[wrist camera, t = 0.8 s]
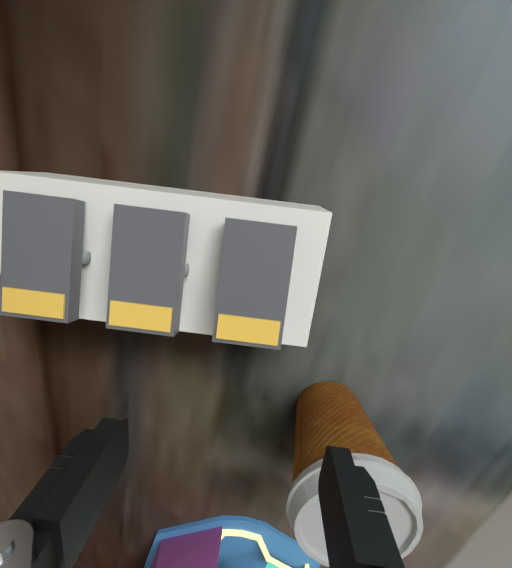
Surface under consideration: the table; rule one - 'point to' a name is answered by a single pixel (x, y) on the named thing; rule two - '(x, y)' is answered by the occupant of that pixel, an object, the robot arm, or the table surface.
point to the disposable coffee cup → (365, 452)
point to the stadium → (226, 546)
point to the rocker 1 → (41, 256)
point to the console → (200, 246)
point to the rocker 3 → (253, 283)
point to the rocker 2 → (147, 269)
